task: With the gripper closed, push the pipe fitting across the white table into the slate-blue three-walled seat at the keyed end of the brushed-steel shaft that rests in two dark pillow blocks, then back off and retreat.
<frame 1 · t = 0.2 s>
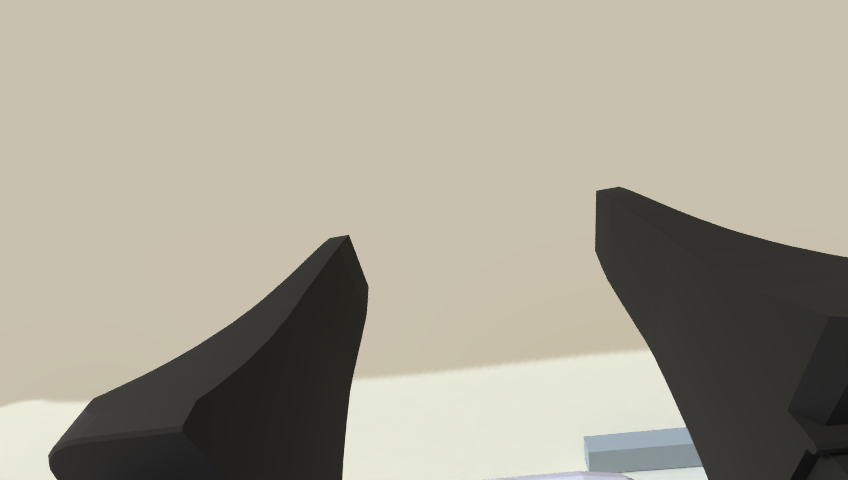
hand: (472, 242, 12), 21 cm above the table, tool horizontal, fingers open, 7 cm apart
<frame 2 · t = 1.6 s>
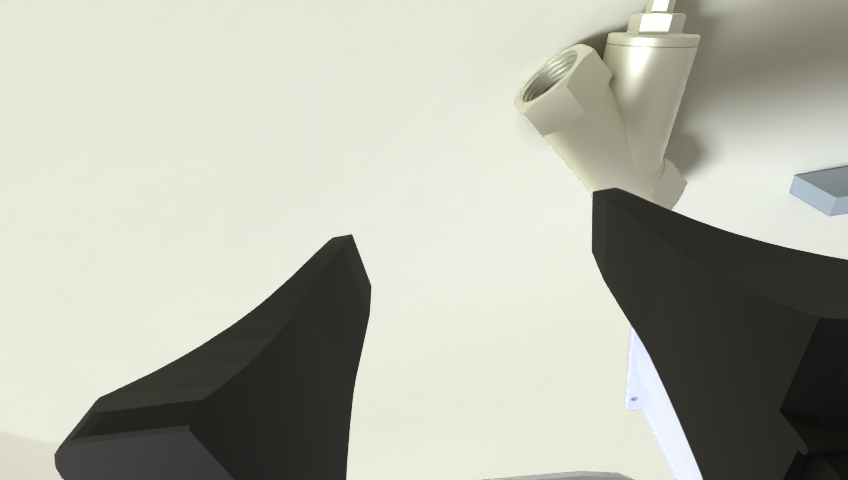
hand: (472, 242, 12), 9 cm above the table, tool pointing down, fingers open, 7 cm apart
pipe fitting: (614, 104, 19), on the table
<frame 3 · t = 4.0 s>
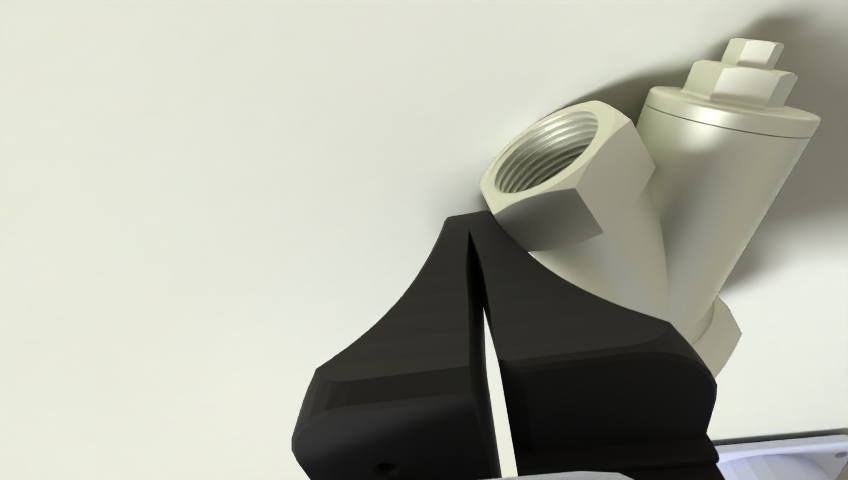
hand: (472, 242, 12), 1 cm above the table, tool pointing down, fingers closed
pipe fitting: (638, 192, 12), on the table, touching gripper
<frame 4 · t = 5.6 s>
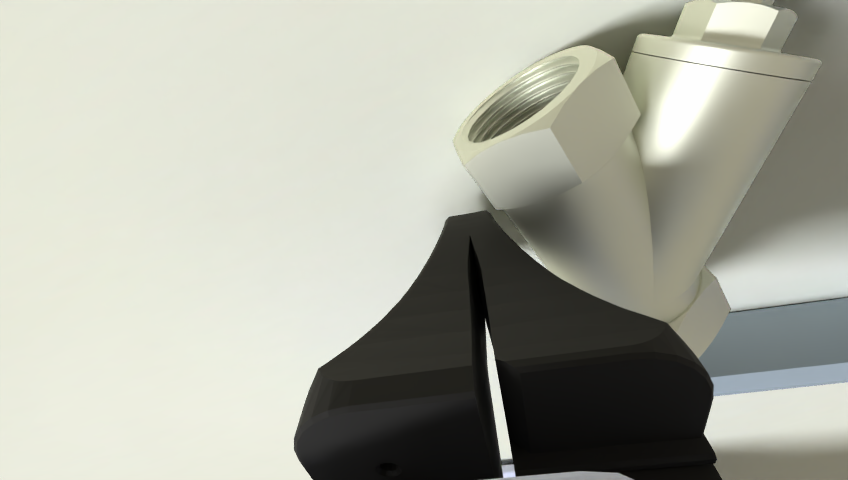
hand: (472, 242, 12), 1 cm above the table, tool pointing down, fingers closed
shaft seat: (837, 162, 11), on the table
pipe fitting: (624, 159, 12), on the table, touching gripper
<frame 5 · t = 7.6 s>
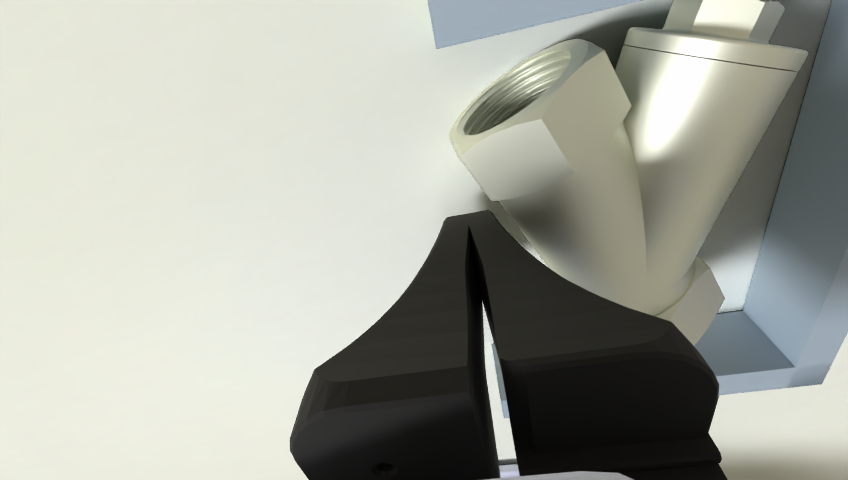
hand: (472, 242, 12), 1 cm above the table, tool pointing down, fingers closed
shaft seat: (618, 199, 12), on the table
pipe fitting: (619, 152, 12), on the table, touching gripper
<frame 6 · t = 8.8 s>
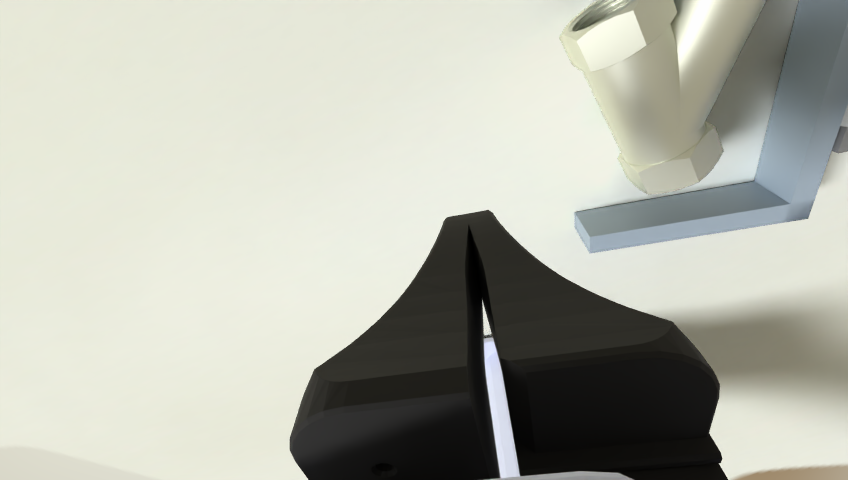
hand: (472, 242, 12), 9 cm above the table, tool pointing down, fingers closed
shaft seat: (674, 91, 18), on the table
pipe fitting: (658, 62, 18), on the table
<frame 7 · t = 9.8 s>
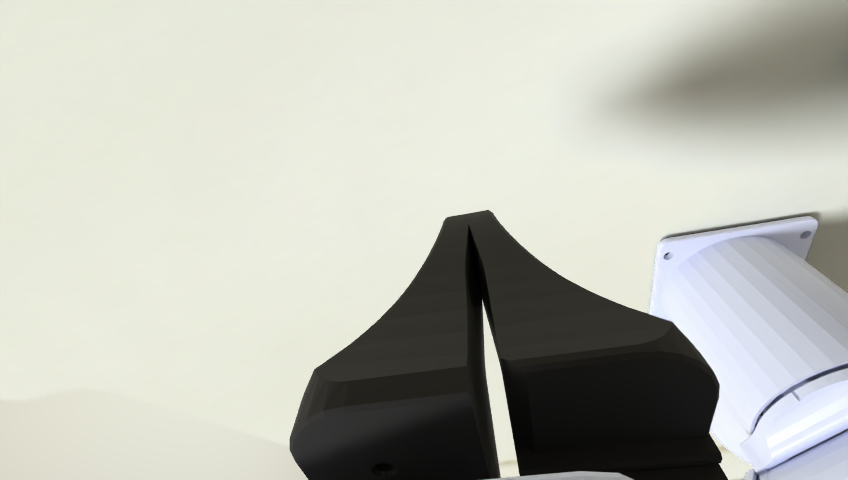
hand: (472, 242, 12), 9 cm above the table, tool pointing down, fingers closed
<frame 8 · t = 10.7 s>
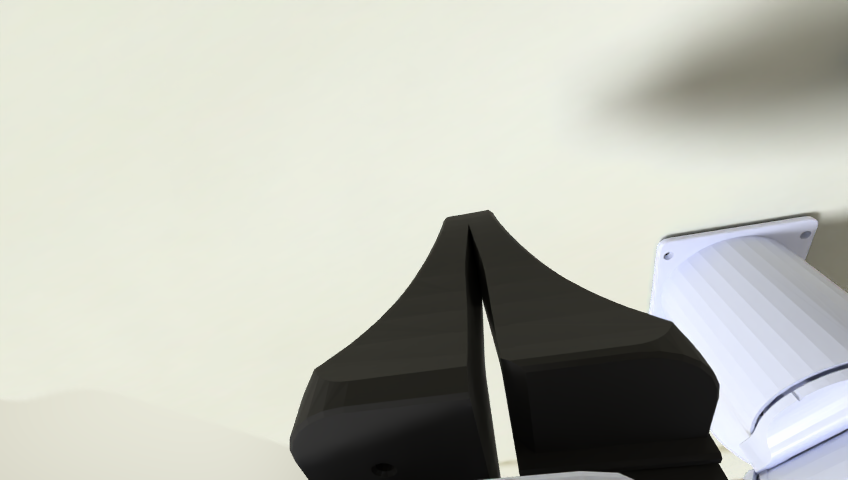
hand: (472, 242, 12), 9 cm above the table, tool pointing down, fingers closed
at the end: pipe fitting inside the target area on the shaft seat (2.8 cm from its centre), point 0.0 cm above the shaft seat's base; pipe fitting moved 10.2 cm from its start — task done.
